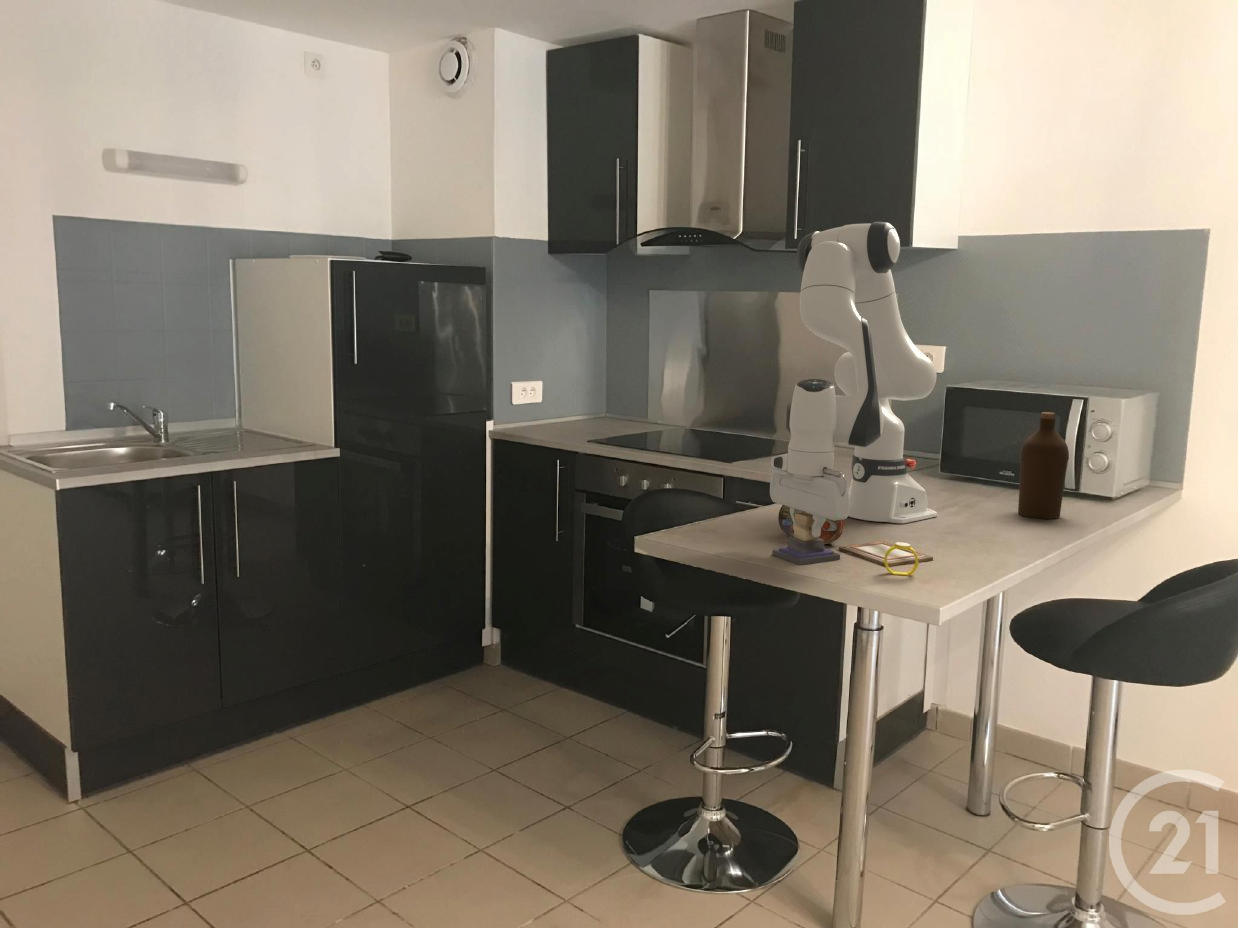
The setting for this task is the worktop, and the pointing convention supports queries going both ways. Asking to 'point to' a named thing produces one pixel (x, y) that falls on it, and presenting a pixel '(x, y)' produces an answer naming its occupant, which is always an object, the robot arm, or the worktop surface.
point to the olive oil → (1043, 471)
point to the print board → (878, 551)
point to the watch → (901, 546)
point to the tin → (828, 531)
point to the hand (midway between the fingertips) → (806, 533)
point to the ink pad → (805, 556)
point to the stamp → (804, 535)
